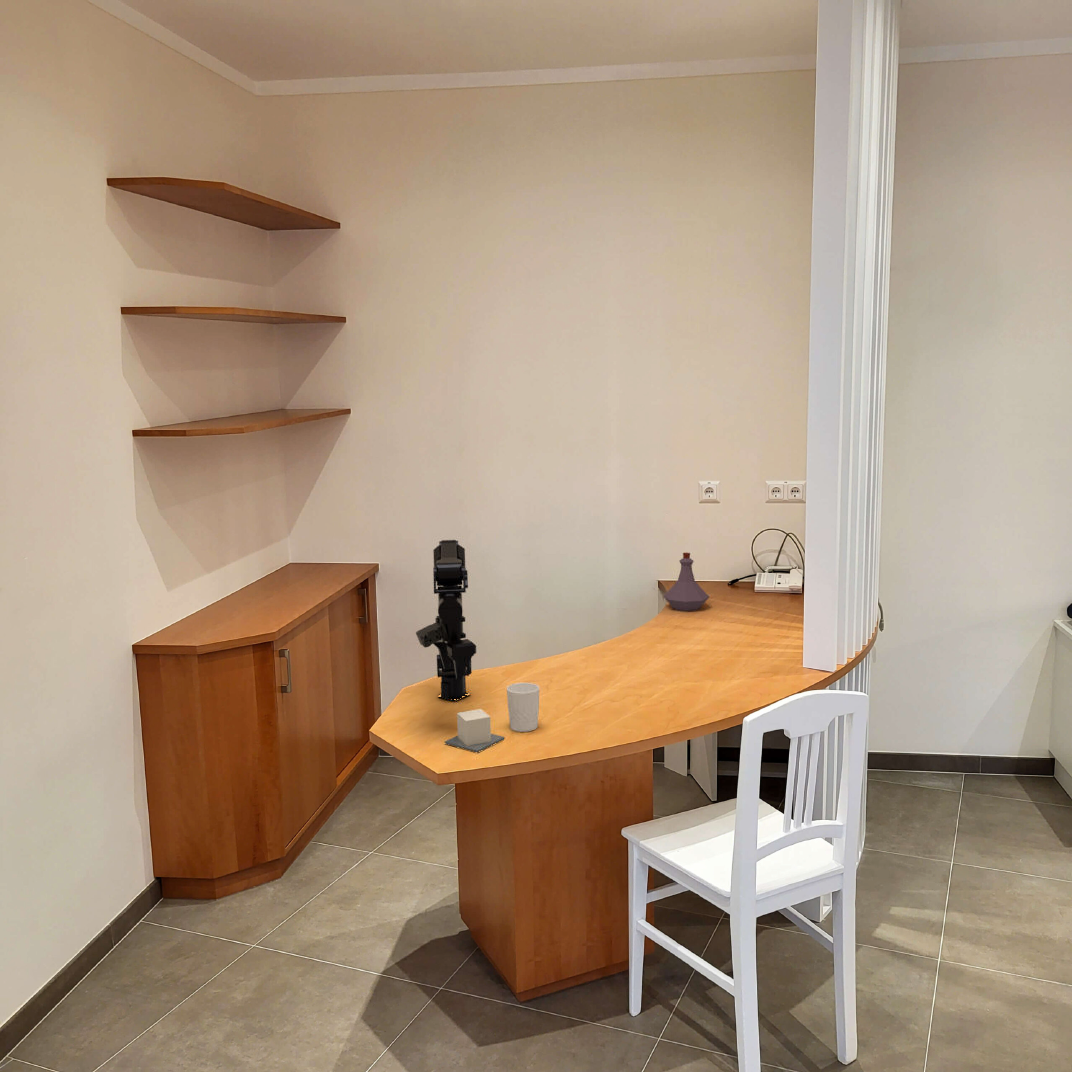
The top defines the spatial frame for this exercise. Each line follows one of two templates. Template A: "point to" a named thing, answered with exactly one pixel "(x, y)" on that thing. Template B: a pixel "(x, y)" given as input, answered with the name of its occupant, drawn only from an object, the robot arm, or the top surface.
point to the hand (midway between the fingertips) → (452, 674)
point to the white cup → (523, 706)
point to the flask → (686, 589)
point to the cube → (474, 727)
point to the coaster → (476, 747)
